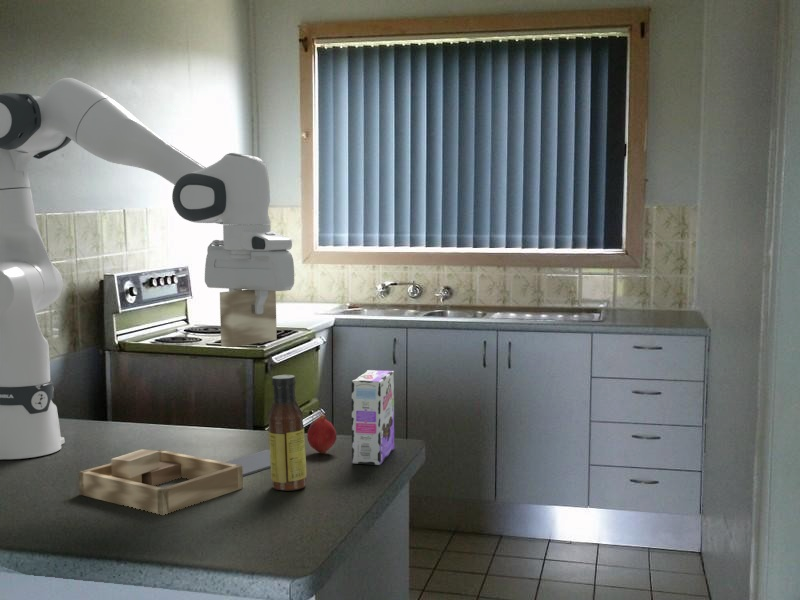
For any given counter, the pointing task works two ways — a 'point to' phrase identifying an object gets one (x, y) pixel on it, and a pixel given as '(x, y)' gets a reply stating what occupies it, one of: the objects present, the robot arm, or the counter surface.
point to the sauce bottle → (286, 437)
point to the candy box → (372, 417)
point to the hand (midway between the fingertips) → (248, 313)
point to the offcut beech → (135, 463)
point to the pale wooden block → (246, 318)
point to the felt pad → (253, 462)
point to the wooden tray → (202, 486)
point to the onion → (321, 435)
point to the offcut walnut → (162, 473)
